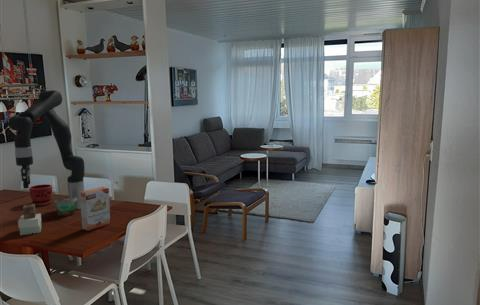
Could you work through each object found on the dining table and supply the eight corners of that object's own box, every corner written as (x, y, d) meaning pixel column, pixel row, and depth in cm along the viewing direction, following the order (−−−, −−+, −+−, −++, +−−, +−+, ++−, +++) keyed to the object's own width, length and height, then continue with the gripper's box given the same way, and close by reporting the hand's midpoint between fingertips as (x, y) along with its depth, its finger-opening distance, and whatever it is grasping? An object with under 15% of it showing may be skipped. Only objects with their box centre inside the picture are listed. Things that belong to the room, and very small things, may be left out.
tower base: (41, 227, 197) (40, 220, 196) (40, 233, 188) (39, 225, 188) (22, 229, 193) (21, 222, 192) (20, 235, 185) (19, 228, 184)
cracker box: (88, 231, 190) (85, 193, 186) (81, 229, 193) (79, 191, 190) (111, 224, 201) (109, 187, 198) (104, 221, 205) (102, 186, 201)
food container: (55, 218, 210) (54, 201, 208) (55, 215, 215) (54, 199, 213) (78, 215, 215) (77, 199, 214) (77, 212, 221) (76, 196, 219)
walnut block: (35, 214, 193) (34, 203, 192) (35, 217, 189) (34, 206, 188) (24, 216, 191) (23, 205, 190) (24, 219, 186) (22, 207, 185)
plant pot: (57, 202, 239) (56, 185, 238) (37, 208, 228) (35, 189, 227) (46, 199, 246) (45, 182, 244) (26, 204, 235) (25, 186, 233)
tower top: (41, 220, 196) (40, 213, 195) (38, 226, 187) (37, 218, 187) (22, 222, 193) (21, 215, 192) (18, 228, 184) (17, 221, 184)
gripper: (31, 157, 179) (34, 188, 182) (33, 152, 192) (36, 182, 195) (13, 158, 176) (16, 190, 179) (17, 154, 189) (20, 183, 192)
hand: (27, 186), depth 187 cm, fingers open, 8 cm apart
